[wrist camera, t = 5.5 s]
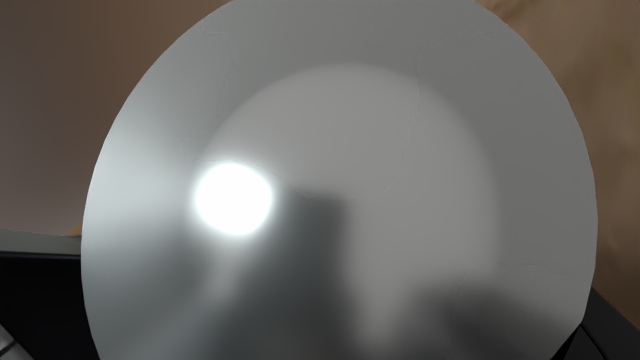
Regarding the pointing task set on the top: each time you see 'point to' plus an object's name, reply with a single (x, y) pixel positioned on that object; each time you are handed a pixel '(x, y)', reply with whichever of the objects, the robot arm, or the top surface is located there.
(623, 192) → the top surface
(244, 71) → the steel peg
